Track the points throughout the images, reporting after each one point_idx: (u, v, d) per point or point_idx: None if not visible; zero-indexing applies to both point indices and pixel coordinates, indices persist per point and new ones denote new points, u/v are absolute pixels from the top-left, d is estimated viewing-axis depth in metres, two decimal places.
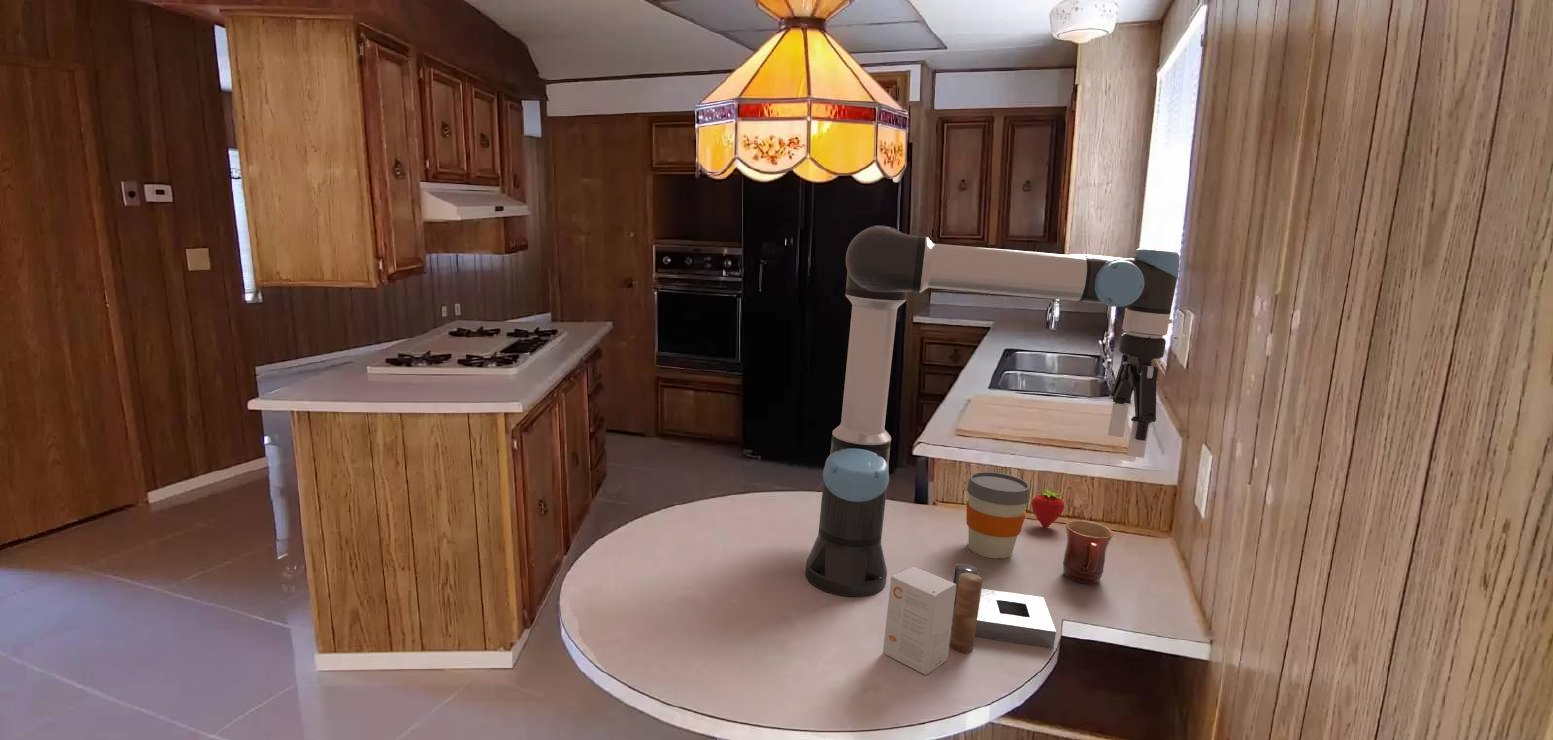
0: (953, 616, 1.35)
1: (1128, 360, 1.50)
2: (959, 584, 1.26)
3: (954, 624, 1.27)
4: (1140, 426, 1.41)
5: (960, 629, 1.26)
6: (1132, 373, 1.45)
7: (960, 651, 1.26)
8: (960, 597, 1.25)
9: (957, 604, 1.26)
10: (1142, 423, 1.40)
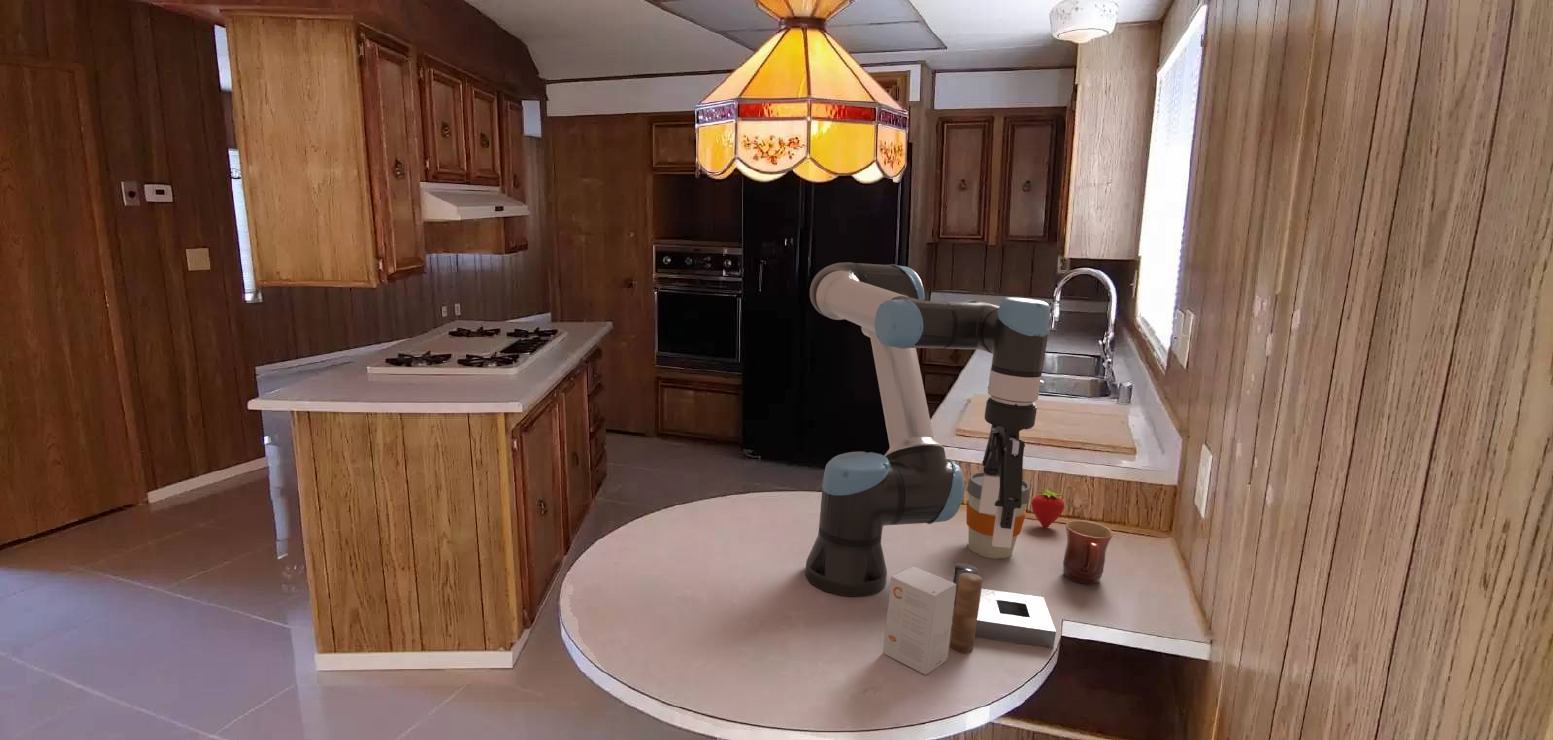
0: (953, 616, 1.35)
1: (997, 428, 1.27)
2: (959, 584, 1.26)
3: (954, 624, 1.27)
4: (1004, 512, 1.18)
5: (960, 629, 1.26)
6: (998, 446, 1.22)
7: (960, 651, 1.26)
8: (960, 597, 1.25)
9: (957, 604, 1.26)
10: (1007, 509, 1.17)
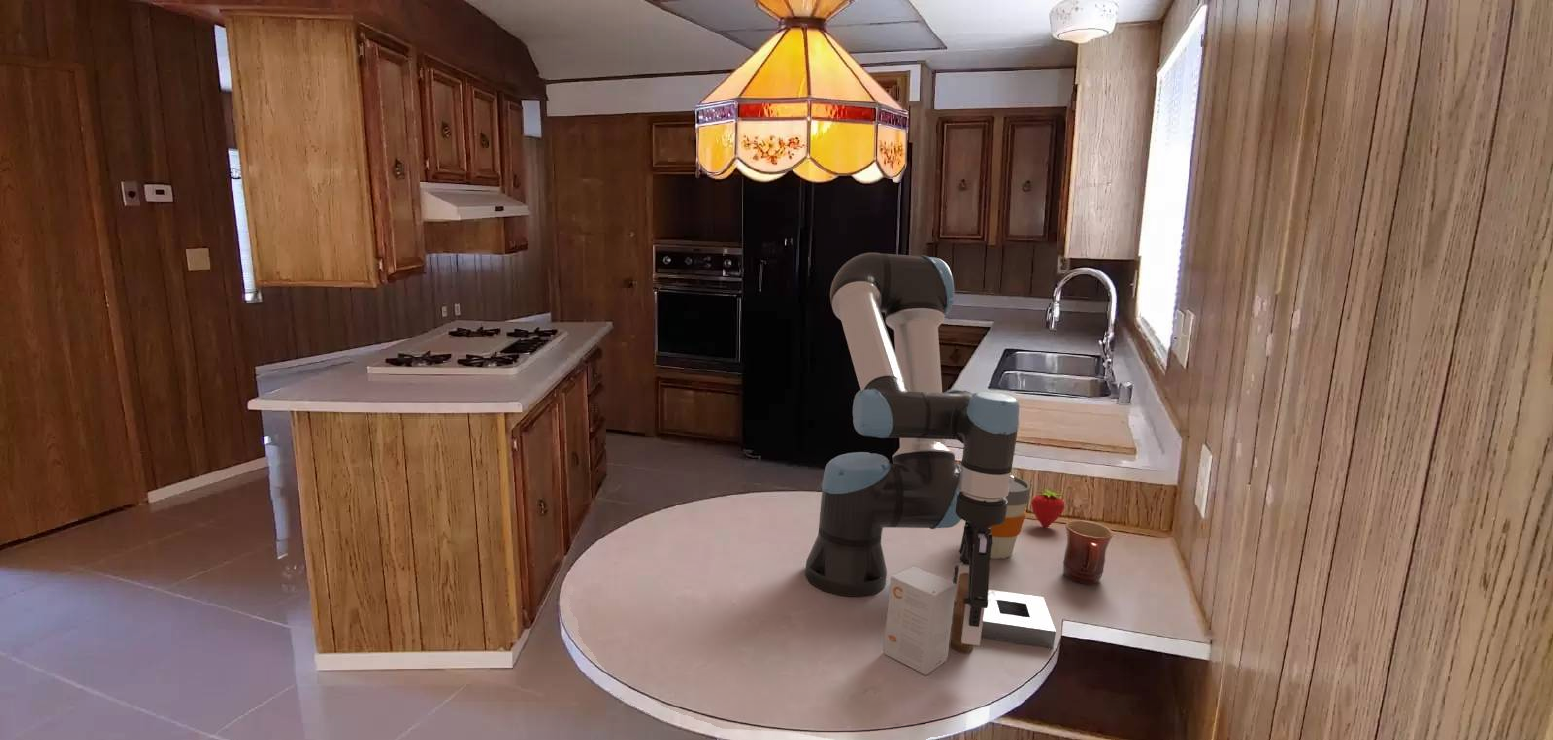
0: (953, 616, 1.35)
1: None
2: (959, 584, 1.26)
3: (954, 624, 1.27)
4: (972, 610, 1.17)
5: (960, 629, 1.26)
6: (968, 541, 1.22)
7: (960, 651, 1.26)
8: (960, 597, 1.25)
9: (957, 604, 1.26)
10: (974, 607, 1.17)
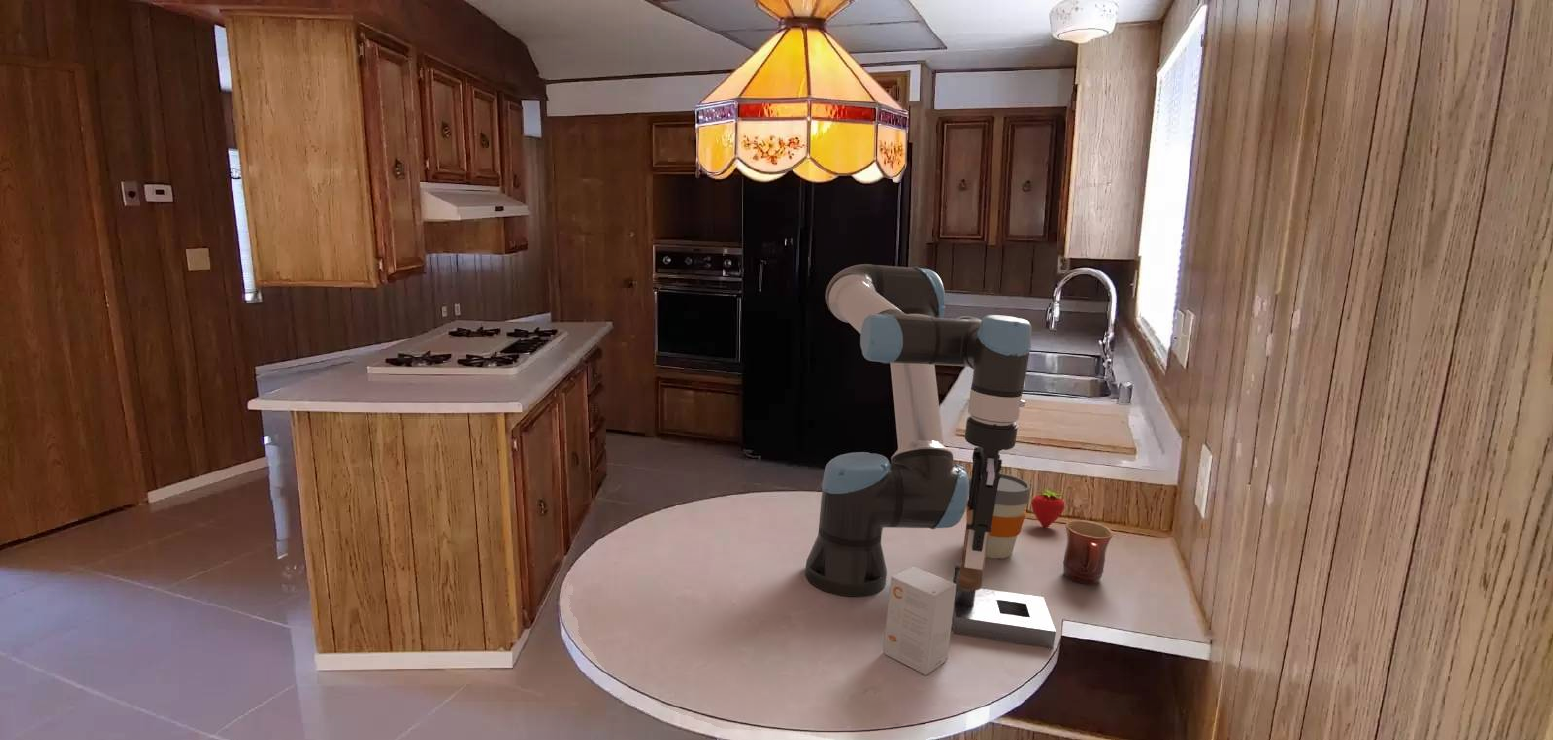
0: (953, 616, 1.35)
1: (978, 446, 1.25)
2: (967, 520, 1.24)
3: (962, 561, 1.25)
4: (976, 535, 1.21)
5: None
6: (976, 469, 1.20)
7: (968, 588, 1.25)
8: (968, 533, 1.23)
9: (965, 540, 1.24)
10: (978, 532, 1.21)
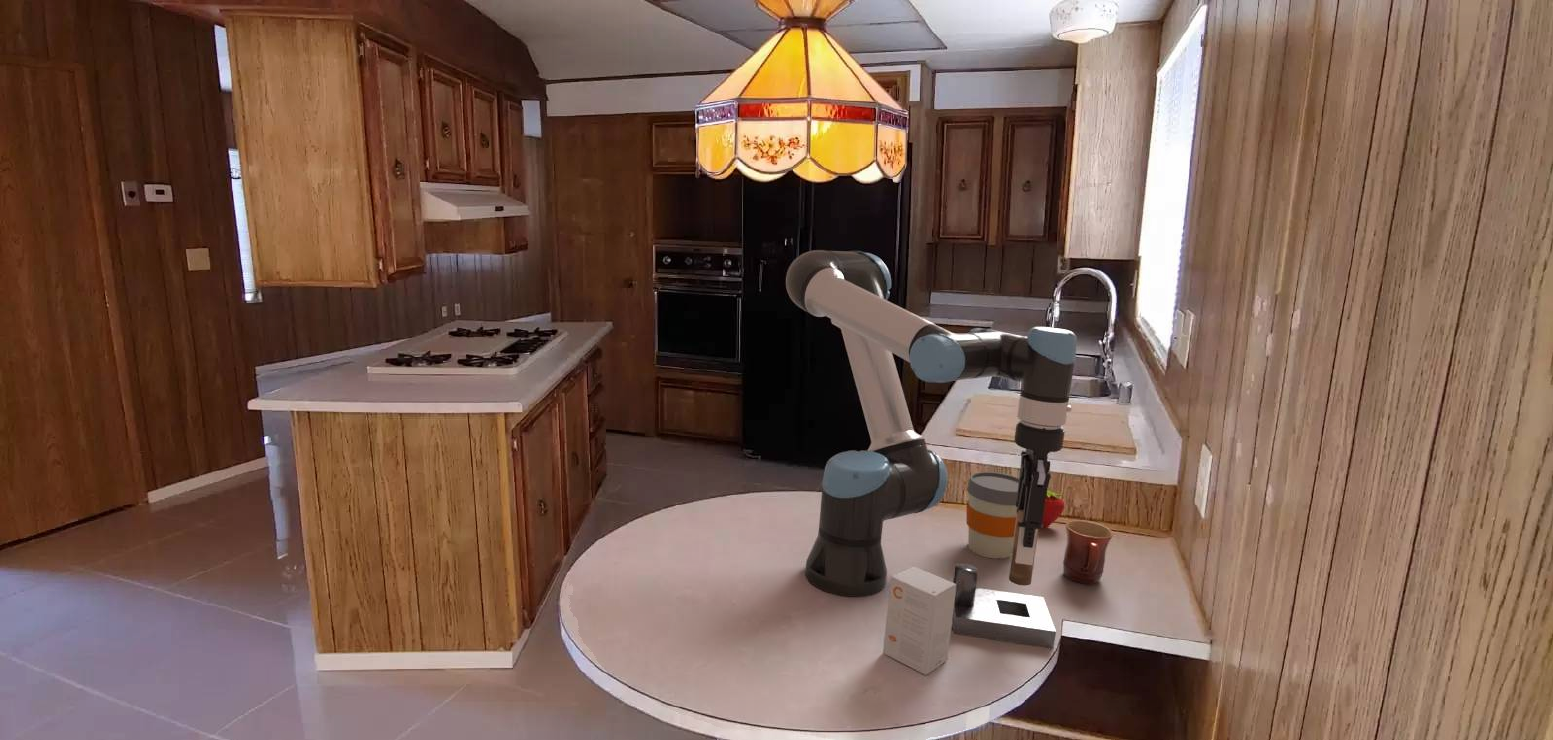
0: (953, 616, 1.35)
1: (1026, 449, 1.33)
2: (1018, 519, 1.32)
3: (1013, 558, 1.33)
4: (1026, 532, 1.29)
5: None
6: (1026, 470, 1.29)
7: (1019, 583, 1.33)
8: None
9: (1016, 538, 1.33)
10: (1028, 529, 1.29)
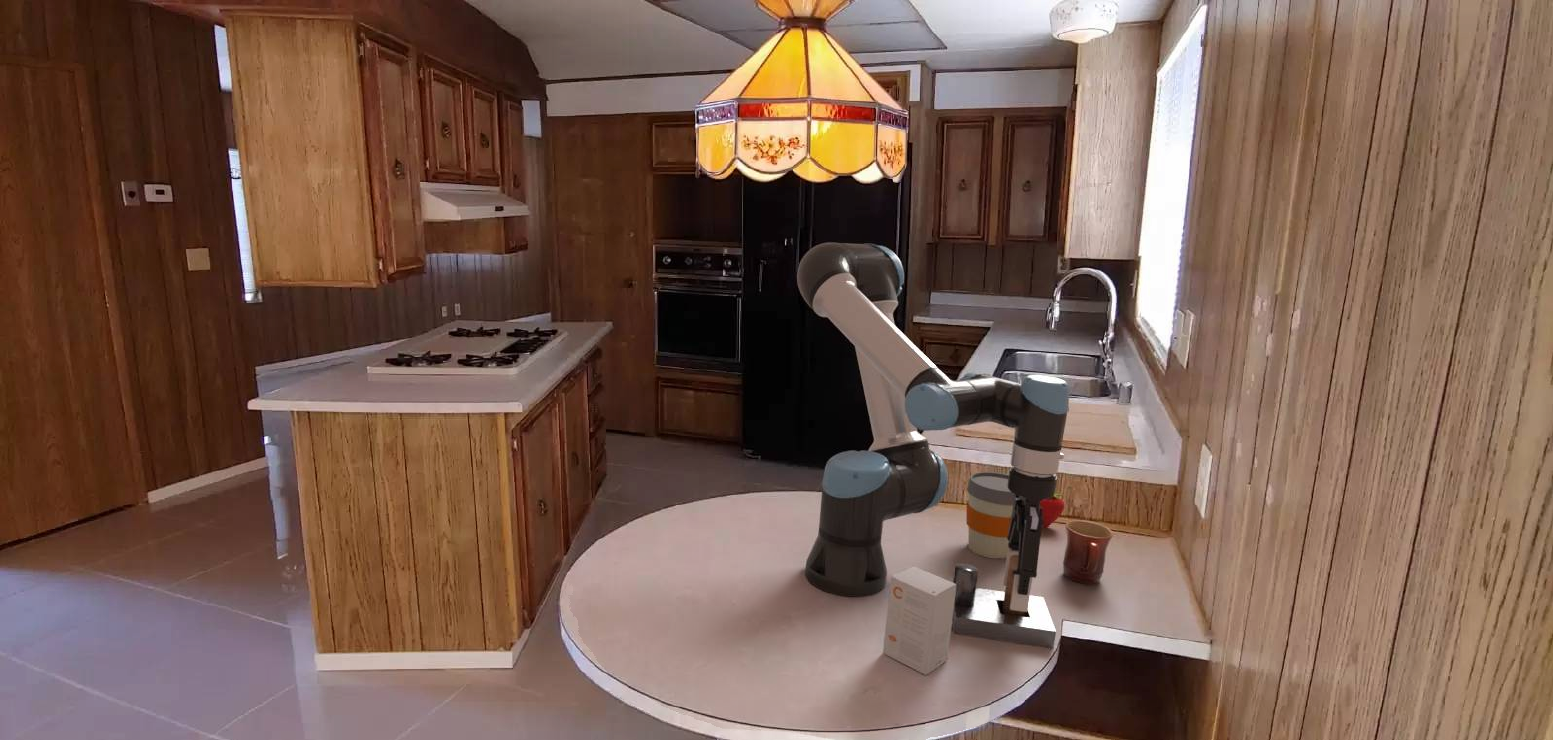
0: (953, 616, 1.35)
1: None
2: (1010, 565, 1.34)
3: (1005, 603, 1.35)
4: (1021, 580, 1.29)
5: None
6: (1019, 516, 1.30)
7: None
8: (1011, 577, 1.34)
9: (1008, 584, 1.34)
10: (1023, 577, 1.28)
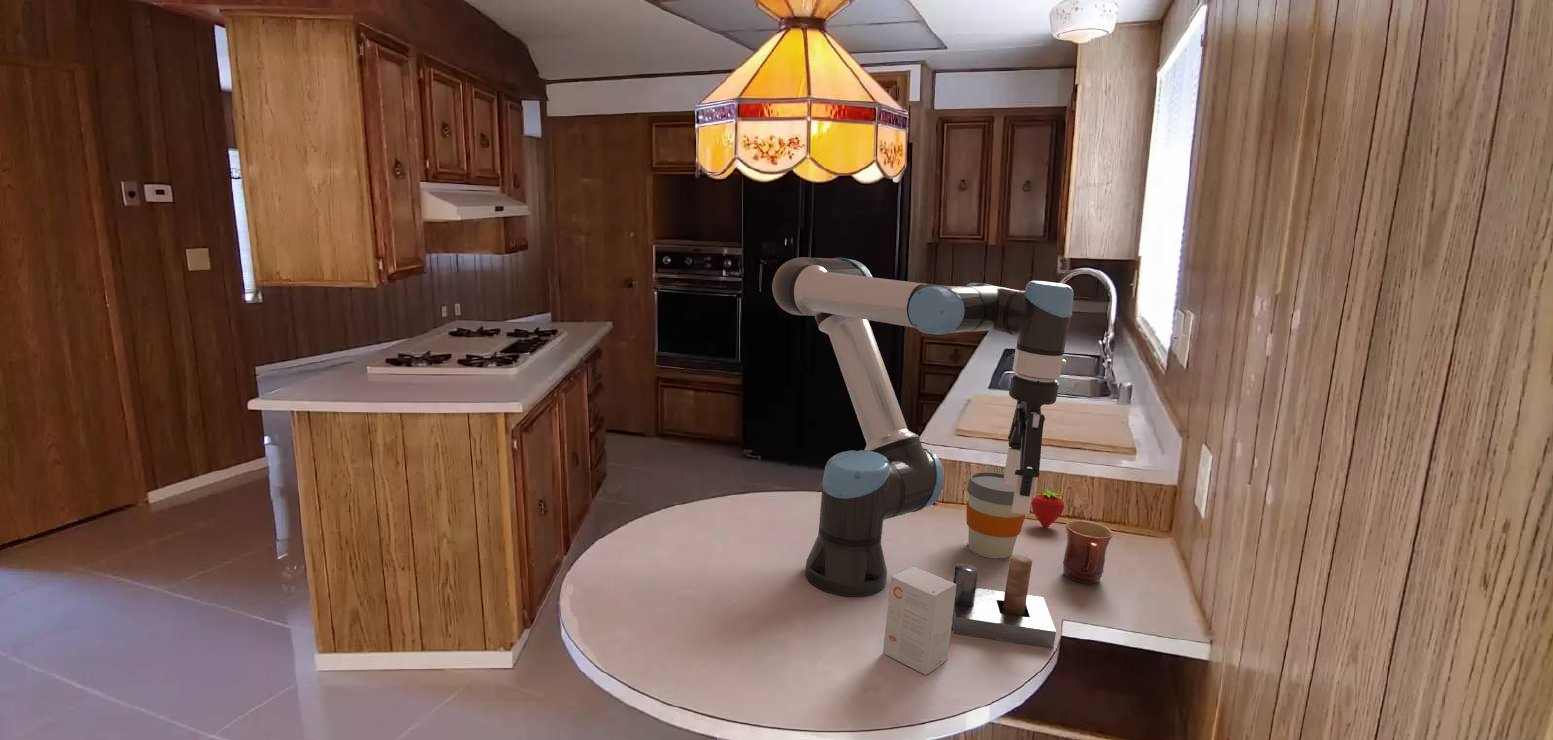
0: (953, 616, 1.35)
1: (1021, 403, 1.35)
2: (1010, 565, 1.34)
3: (1005, 603, 1.35)
4: (1024, 481, 1.26)
5: (1011, 608, 1.34)
6: (1020, 420, 1.30)
7: None
8: (1011, 577, 1.34)
9: (1008, 584, 1.34)
10: (1026, 477, 1.26)
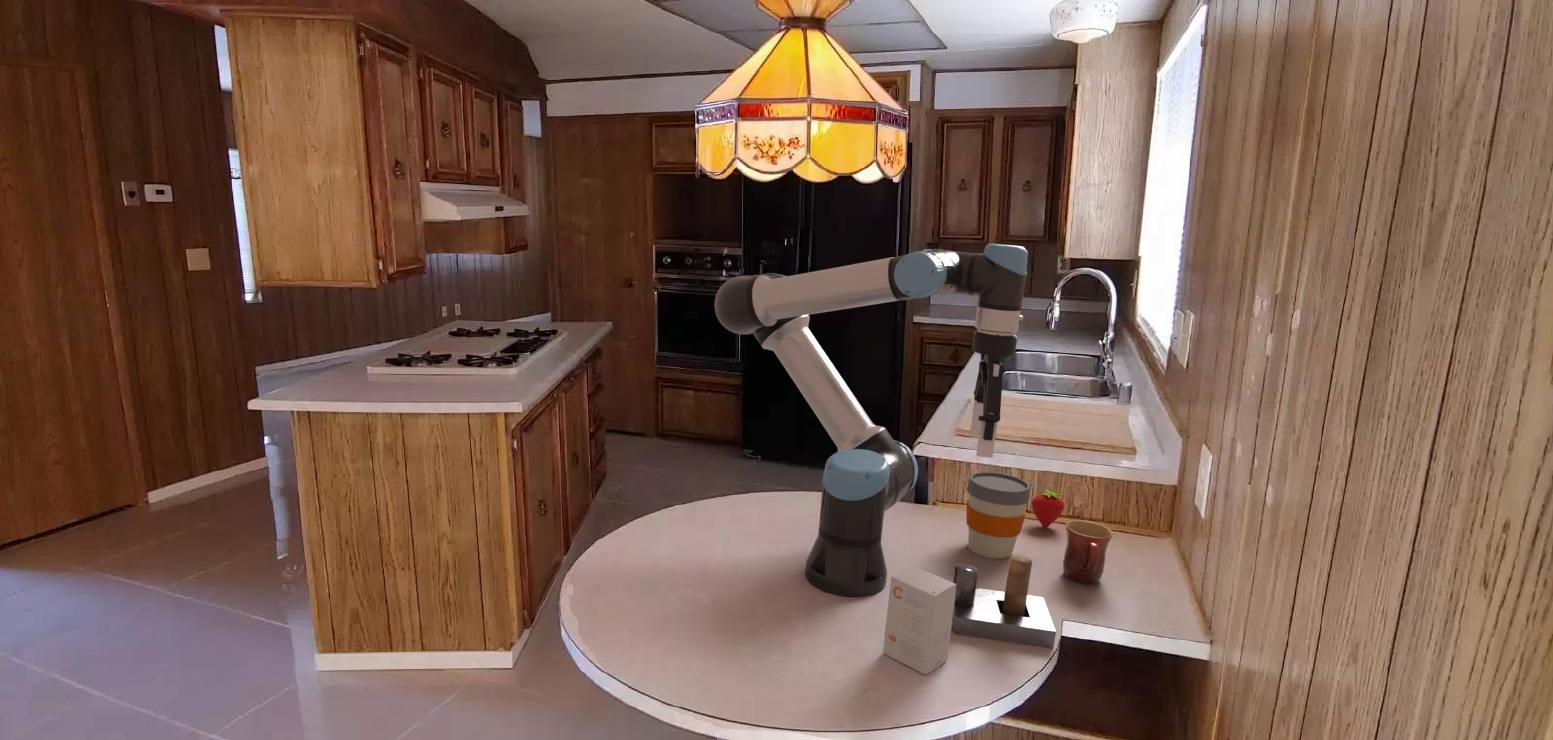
0: (953, 616, 1.35)
1: (984, 358, 1.47)
2: (1010, 565, 1.34)
3: (1005, 603, 1.35)
4: (986, 426, 1.37)
5: (1011, 608, 1.34)
6: (983, 372, 1.42)
7: None
8: (1011, 577, 1.34)
9: (1008, 584, 1.34)
10: (988, 422, 1.37)
